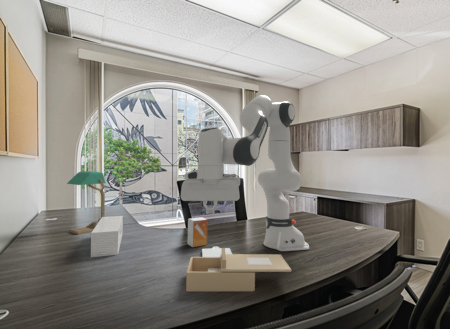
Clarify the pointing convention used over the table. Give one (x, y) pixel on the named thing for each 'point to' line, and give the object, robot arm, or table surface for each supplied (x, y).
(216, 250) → the mounting plate
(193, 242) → the small box
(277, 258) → the lid
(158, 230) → the table surface
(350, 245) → the table surface
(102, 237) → the stack of papers
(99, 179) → the banker's lamp
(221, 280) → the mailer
